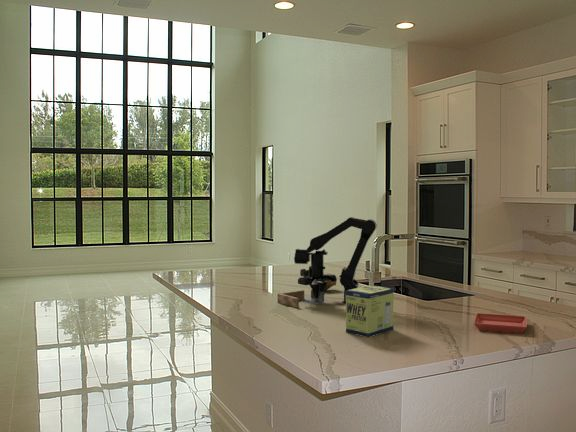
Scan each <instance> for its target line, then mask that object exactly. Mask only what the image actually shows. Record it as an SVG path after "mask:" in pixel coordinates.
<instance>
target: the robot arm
mask: <svg viewBox="0 0 576 432" xmlns="http://www.w3.org/2000/svg"><path fill="white" fill-rule="evenodd" d="M377 226H378V224H377V222H376V220H374V219H371V218H369V219H361V218H356V217H353V216H351V217H348V218H347V219H346V220H344V221H343V222H341V223H340V224H338V225H336V226H334V227H333V228H332V229H330V230H329V231H327V232H325V233H323V234H322V233H321V234H320V235H317V236H315V237H313V238H311V239H310V241H309V246H308V247H307V248H306V249H300V248H296V249H295V252H294V257H293V261H294V264H296V265H308V263H310V266H309V267H308V270H307V269H306V268H302V269H300V270H299V271H300V272H299V273H300V276H301V277H299V278H298V279H297V284H298V285H302V286H309V287H310V288H311V290H312V291H313V294H314V296H315V298H316V299H317V297H318V291H322V292H324V291H323V290H324V288H325V287H326V285H327V284H328V283H326V280H330V281H331V282H333V281H336V278H337V276H336V274H332V273H325V269H326V266H324V261H325V260H324V256H326V255H327V256H328V254H329V252H328V251H326V249H322V248H324V247H325V245H326V244H328V243H329V242H330V241H331V240H332V239H333V238H335V237H337V236H338V235H341V234H342V233H343V232H346V230H348V229H349V228H351V227H352V228H356V229H360V230H361V231H360V237H359V240H358V242H357V244H356V248H355V249H354V251H353V254H352V256H351V259H350V261H349V263H348V266H347V267H345V266H344V267H343V268H342V269H341V274H340V275H339V283H340V285H341V286H342V287H343V300H342V301H341V303H343V304H346V290H351V289H356V288H359V284H360V283H359V282H358V280H356V278H355V277H356V272H357V268H358V265H359V264H360V260H361V259H362V256H363V253H364V251H365V249H366V247H367V245H368V242H369V240H370V239H371V237H372V235H373V234H374V232H375V231H376V229H377ZM321 249H322V250H321ZM313 251H315V252H313Z"/></svg>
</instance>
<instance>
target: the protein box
mask: <svg viewBox="0 0 576 432" xmlns="http://www.w3.org/2000/svg"><path fill="white" fill-rule="evenodd" d="M390 330H391V331H394V288H392V287H386V286H379V285H372V284H370V285H366V286H365V285H364V286H361V287H358V288H356V289H351V290H346V303H345V332H346V333H347V332H348V333H347V334H351V335H356V334H358V335H357V336H360V335H362V336H361V337H364V336H366V337H365V338H371V337H374V336H373V335H375V336H377V335H376V334H378V335H380V333H381V334H384V333H387V331H388V332H390ZM383 332H384V333H383ZM370 336H371V337H370Z"/></svg>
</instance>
